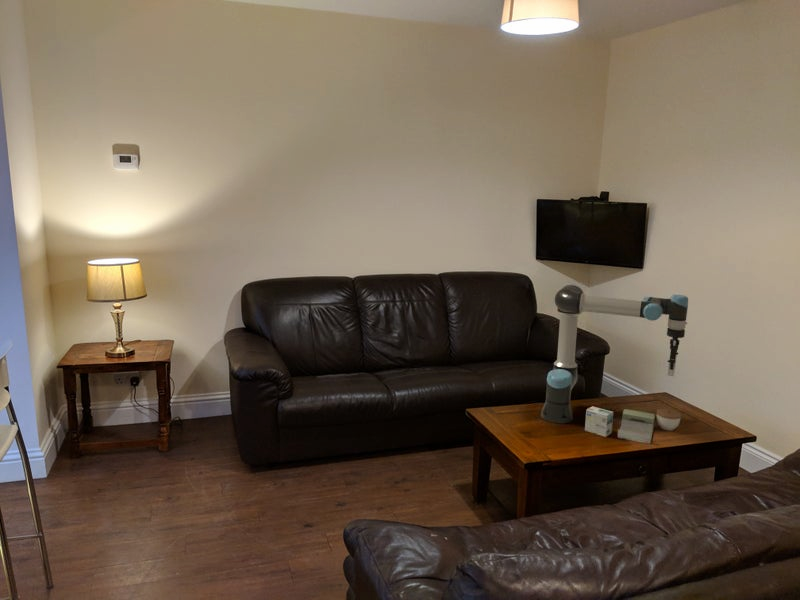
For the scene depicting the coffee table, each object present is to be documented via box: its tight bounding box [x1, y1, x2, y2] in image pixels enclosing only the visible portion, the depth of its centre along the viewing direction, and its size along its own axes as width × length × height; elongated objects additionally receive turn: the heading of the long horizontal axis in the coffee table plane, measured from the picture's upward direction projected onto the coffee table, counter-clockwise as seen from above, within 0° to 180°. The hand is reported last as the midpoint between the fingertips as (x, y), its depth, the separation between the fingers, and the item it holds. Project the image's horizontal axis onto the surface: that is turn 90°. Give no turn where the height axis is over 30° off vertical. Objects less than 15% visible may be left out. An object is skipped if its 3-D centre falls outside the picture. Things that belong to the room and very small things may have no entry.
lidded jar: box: [656, 408, 682, 431], centre depth 287 cm, size 11×11×9 cm
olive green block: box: [621, 408, 656, 428], centre depth 289 cm, size 14×7×6 cm, turn 64°
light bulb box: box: [584, 405, 614, 438], centre depth 281 cm, size 11×7×11 cm, turn 47°
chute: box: [617, 418, 654, 445], centre depth 279 cm, size 14×15×4 cm
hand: (671, 371), depth 283 cm, fingers open, 13 cm apart
